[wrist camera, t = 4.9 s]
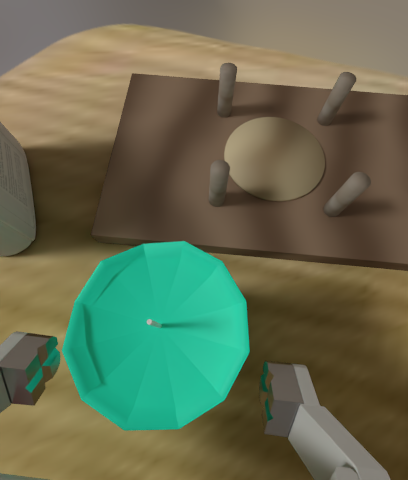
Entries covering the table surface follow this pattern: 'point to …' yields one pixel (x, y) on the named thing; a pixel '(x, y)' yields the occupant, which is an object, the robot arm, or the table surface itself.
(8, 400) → the robot arm
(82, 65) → the table surface
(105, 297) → the candle
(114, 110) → the table surface
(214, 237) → the candle stand
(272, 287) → the table surface
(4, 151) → the photo printer
